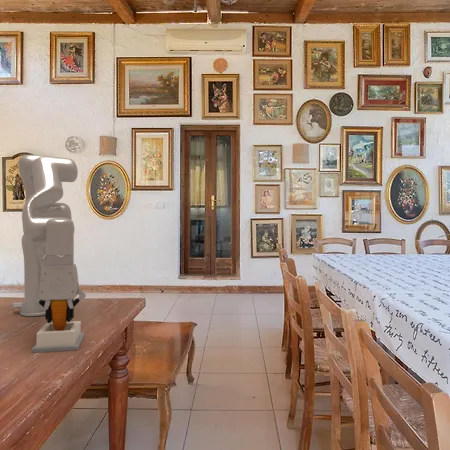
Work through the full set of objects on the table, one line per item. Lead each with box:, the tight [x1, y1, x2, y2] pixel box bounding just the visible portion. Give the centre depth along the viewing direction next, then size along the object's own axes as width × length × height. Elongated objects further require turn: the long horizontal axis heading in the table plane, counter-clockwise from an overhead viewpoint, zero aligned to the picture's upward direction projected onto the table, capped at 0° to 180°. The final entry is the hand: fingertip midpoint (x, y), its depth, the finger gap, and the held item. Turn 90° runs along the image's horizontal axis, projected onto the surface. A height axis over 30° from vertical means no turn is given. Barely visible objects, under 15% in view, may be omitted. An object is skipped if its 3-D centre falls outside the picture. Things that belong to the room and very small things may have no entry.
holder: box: [31, 320, 85, 354], centre depth 107 cm, size 12×12×5 cm
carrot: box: [51, 300, 69, 331], centre depth 107 cm, size 5×5×15 cm
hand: (59, 320), depth 107 cm, fingers closed on carrot, 4 cm apart
